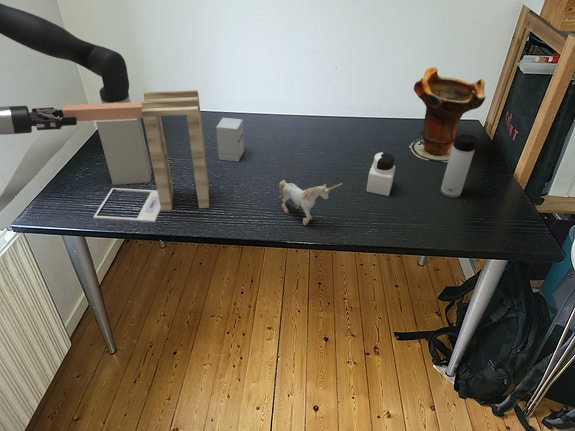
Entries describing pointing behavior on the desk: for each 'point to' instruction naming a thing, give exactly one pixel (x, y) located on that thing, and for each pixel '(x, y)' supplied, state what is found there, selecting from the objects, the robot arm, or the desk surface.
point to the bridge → (152, 112)
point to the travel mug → (458, 165)
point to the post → (125, 150)
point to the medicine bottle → (381, 174)
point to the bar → (104, 111)
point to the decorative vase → (444, 112)
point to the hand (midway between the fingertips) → (74, 116)
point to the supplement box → (230, 139)
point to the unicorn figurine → (302, 197)
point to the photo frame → (148, 210)
